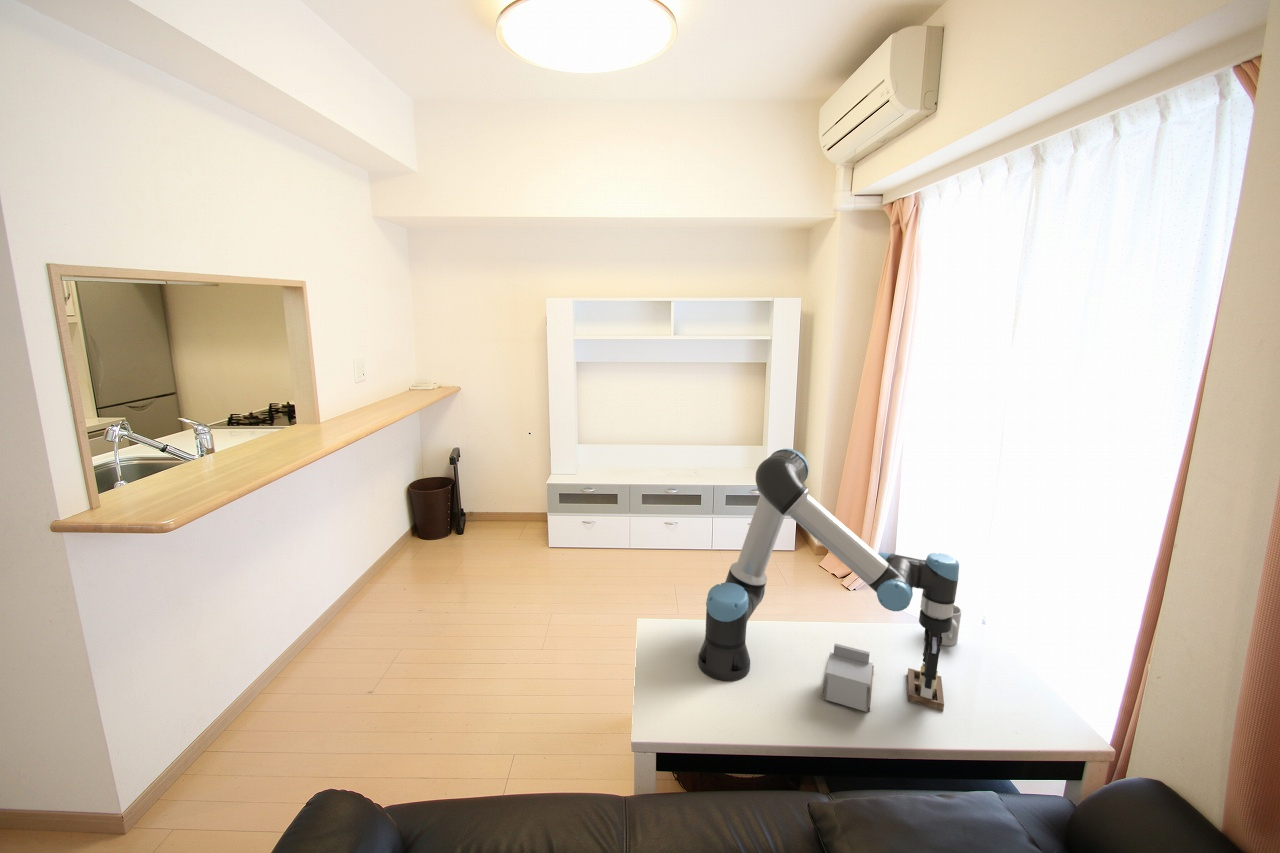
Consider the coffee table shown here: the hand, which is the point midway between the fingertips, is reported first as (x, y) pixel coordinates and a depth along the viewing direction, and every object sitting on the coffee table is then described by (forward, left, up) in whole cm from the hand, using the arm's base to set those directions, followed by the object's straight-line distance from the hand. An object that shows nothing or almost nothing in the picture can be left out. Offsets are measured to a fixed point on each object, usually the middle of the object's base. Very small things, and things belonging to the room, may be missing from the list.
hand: (925, 691), depth 149 cm
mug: (+7, +34, -2) cm, 34 cm away
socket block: (0, +3, -2) cm, 4 cm away
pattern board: (-19, -2, -2) cm, 20 cm away
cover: (-19, -10, -1) cm, 22 cm away
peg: (0, 0, -1) cm, 1 cm away
